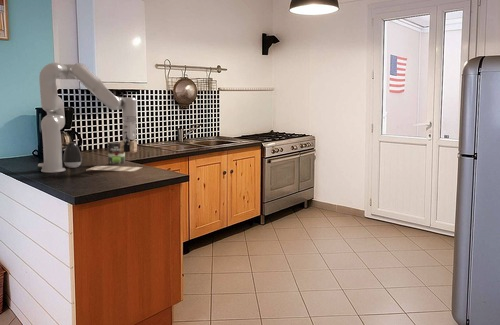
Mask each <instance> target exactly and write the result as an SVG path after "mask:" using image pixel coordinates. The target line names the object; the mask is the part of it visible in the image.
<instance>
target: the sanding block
mask: <svg viewBox="0 0 500 325" xmlns="http://www.w3.org/2000/svg"><path fill="white" fill-rule="evenodd" d="M119 142H120V152H124V141H123V140H120V141H119ZM127 142H128V141H127ZM129 145H130V152H129V153H138V141H136V140H134V141H129Z"/></svg>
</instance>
